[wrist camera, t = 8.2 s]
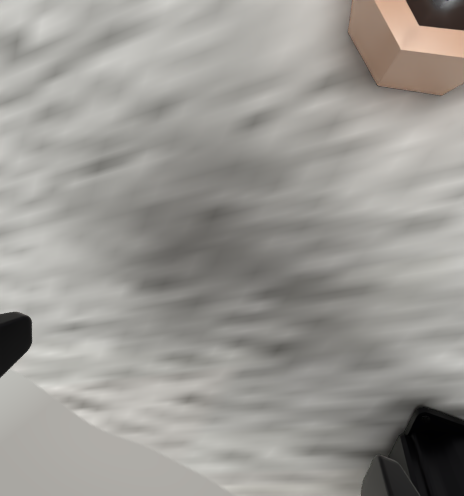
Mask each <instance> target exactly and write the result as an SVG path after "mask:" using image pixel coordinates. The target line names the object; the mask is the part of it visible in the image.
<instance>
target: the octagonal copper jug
mask: <svg viewBox="0 0 464 496" xmlns="http://www.w3.org/2000/svg"><path fill="white" fill-rule="evenodd" d="M348 33H349V35H350V37H351V39H352V41H353V42H354V44H355V46H356V48H357V50H358V51H359V53H360V55H361V57H362V59H363V60H364V62H365V64H366V66H367V68H368V69H369V71H370V73H371V75H372V77H373V78H374V80H375V82H376V84H377V86H383V87H389V88H396V89H402V90H409V91H415V92H422V93H429V94H435V95H444V94H445V93H447V92H449V91H451V90H453V89H454V88H456V87H458V86H460V85H462V84H463V83H464V31H463V30H453V29H444V28H435V27H426V26H419V25H418V23H417V21H416V19H415V17H414V15H413V13H412V11H411V10H410V8H409V6H408V4H407V2H406V0H352V6H351V13H350V21H349V28H348Z"/></svg>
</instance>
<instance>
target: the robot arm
mask: <svg viewBox="0 0 464 496" xmlns="http://www.w3.org/2000/svg"><path fill="white" fill-rule="evenodd" d="M31 344H32V321H31V318H30V317H29V316H27V315H24V314H22V313H19V312H10V313H4V314H0V378H1V376H3V374H5V372H7V371H8V370H9V369H10V368H11V367H12V366H13V365H14V364H15V363H16V362H17V361H18V360H19V359H20V358H21V357H22V356H23V355H24V354H25V353H26V352H27V351H28V350H29V348H30V346H31ZM423 416H428V417H427V418H422V417H423ZM361 496H464V421H463V420H460V419H457V418H454V417H451V416H449V415H446V414H443V413H440V412H437V411H434V410H432V409H429V408H425V407H422V408H418V409H417V410H416V411H415V413H414V415H413V417H412V419H411V421H410V423H409V425H408V427H407V429H406V431H405V433H404V434H401V435H400V436H399V437H398V439H397V441H396V443H395V445H394V447H393V449H392V451H391V453H390V455H389V457H385V456H383V455H376V456H375V457H374V459H373V461H372V463H371V465H370V467H369V469H368V471H367V473H366V475H365V478H364V480H363V483H362V489H361Z"/></svg>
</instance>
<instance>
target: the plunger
mask: <svg viewBox="0 0 464 496" xmlns="http://www.w3.org/2000/svg"><path fill="white" fill-rule="evenodd" d="M406 2H407V4H408V6H409V8H410V10H411V11H412V13H413V15H414V17H415V19H416V21H417V23H418V25H419V26H426V27H435V28H444V29H453V30H463V31H464V0H406Z"/></svg>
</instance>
